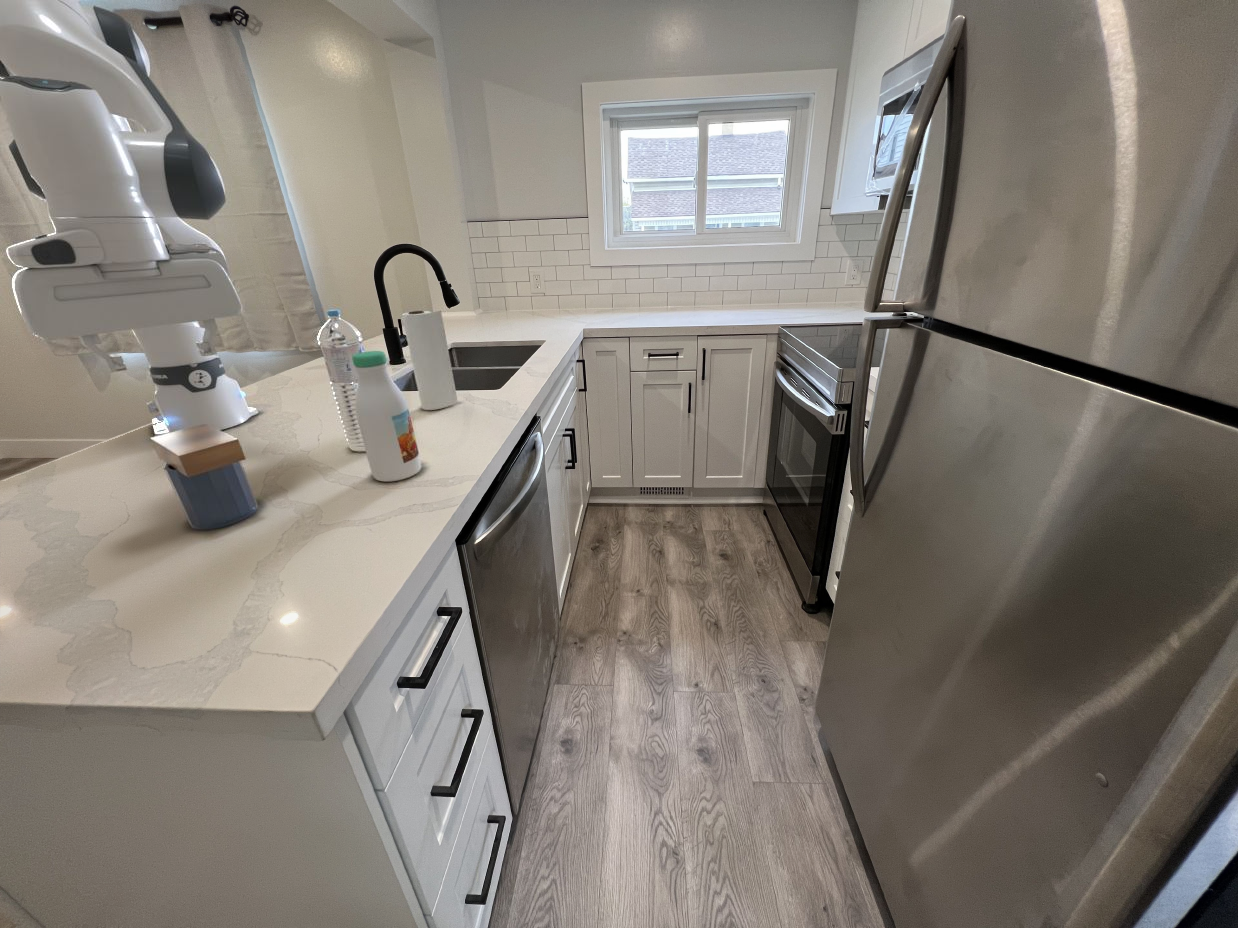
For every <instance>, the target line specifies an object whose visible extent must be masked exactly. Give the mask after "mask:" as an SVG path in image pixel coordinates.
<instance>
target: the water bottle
mask: <svg viewBox="0 0 1238 928" xmlns="http://www.w3.org/2000/svg"><path fill="white" fill-rule="evenodd" d="M340 313H341V312H340V309H329V310H326V314H327V317H328V320H327V321H326V322H325V323H324V325H323V326H322V327H321V329H320V330H319V332H318V335H317V342H318V345H319V347H320V349H321V352H322V356H323V361H324V364H325V367H326V371H327V374H328V376H329V381H330V382H329V383H330V387H331V390H332V393H333V397H334V401H335V405H336V408H337V411H338V415H339V418H340V421H341V425H342V429H343V433H344V435H345V439H346V442H347V445H348V448H349V450H351V451H352V452H357V453H366V451H365V447H364V443H363V440H362V436H361V432H360V428H359V424H358V420H357V416H356V410H355V398H356V393H357V388H358V372H357V370H355V366H354V364H353V360H352V356H353V355H355V354H357V353H361V352H366V351H365V347H364V343H363V342H364V339H363V335H362V333H361V332H360V331H359V329H357V327H356V326H354V325H353V324H352V323H350V322H348V321H346V320H345V319H342V318H341V314H340Z"/></svg>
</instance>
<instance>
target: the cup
mask: <svg viewBox="0 0 1238 928" xmlns="http://www.w3.org/2000/svg"><path fill="white" fill-rule="evenodd" d="M163 471H164V472H165V475H166V477H167V479H168V481H169V484H170V485H171V486H170V487H172V490H173V492H174V494H175V496H176V499H177V501H178V503H179V505H180V507H181V509H182V511H183V513H184V516H185V518H186V520H187V522H188V523H189V525H190V527H191V528H192V529H194V530H198V531H207V530H208V531H209V530H215V529H220V528H221V529H222V528H224V527H228V526H232V525H234V524H237V523H239V522H241V521H244V520H246V519H248V518H249V517H251V516H252V515H253V514H254V513H257V511H258V509H259V505H258V501H257V498H256V495H255V493H254V491H253V488H252V485H251V483H250V480H249V477H248V475H247V472H246V470H245V467H244V465H243V463H242V461H239V462H236V463H233V464H230V465H226V466H223V467H220V468H217V469H214V470H210V471H207V472H204V473H201V474H198V475H194V476H191V477H187V476H185V475H184V474H182V473H181V472H179V471H178V470H176V469H175V468H173V467H172V466H170V465H169V464H167V463H165V465H164V467H163Z"/></svg>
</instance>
